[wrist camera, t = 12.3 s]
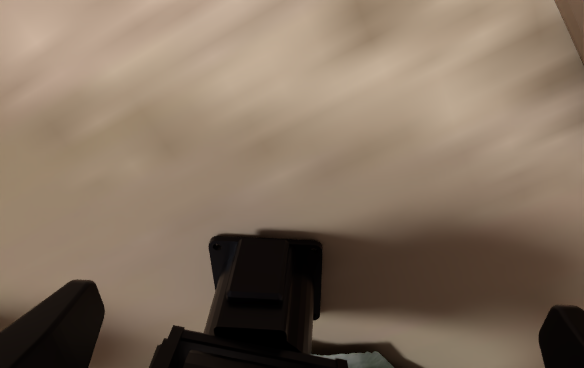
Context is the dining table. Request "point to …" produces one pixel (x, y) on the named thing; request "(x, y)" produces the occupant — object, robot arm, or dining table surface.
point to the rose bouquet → (362, 360)
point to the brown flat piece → (574, 21)
